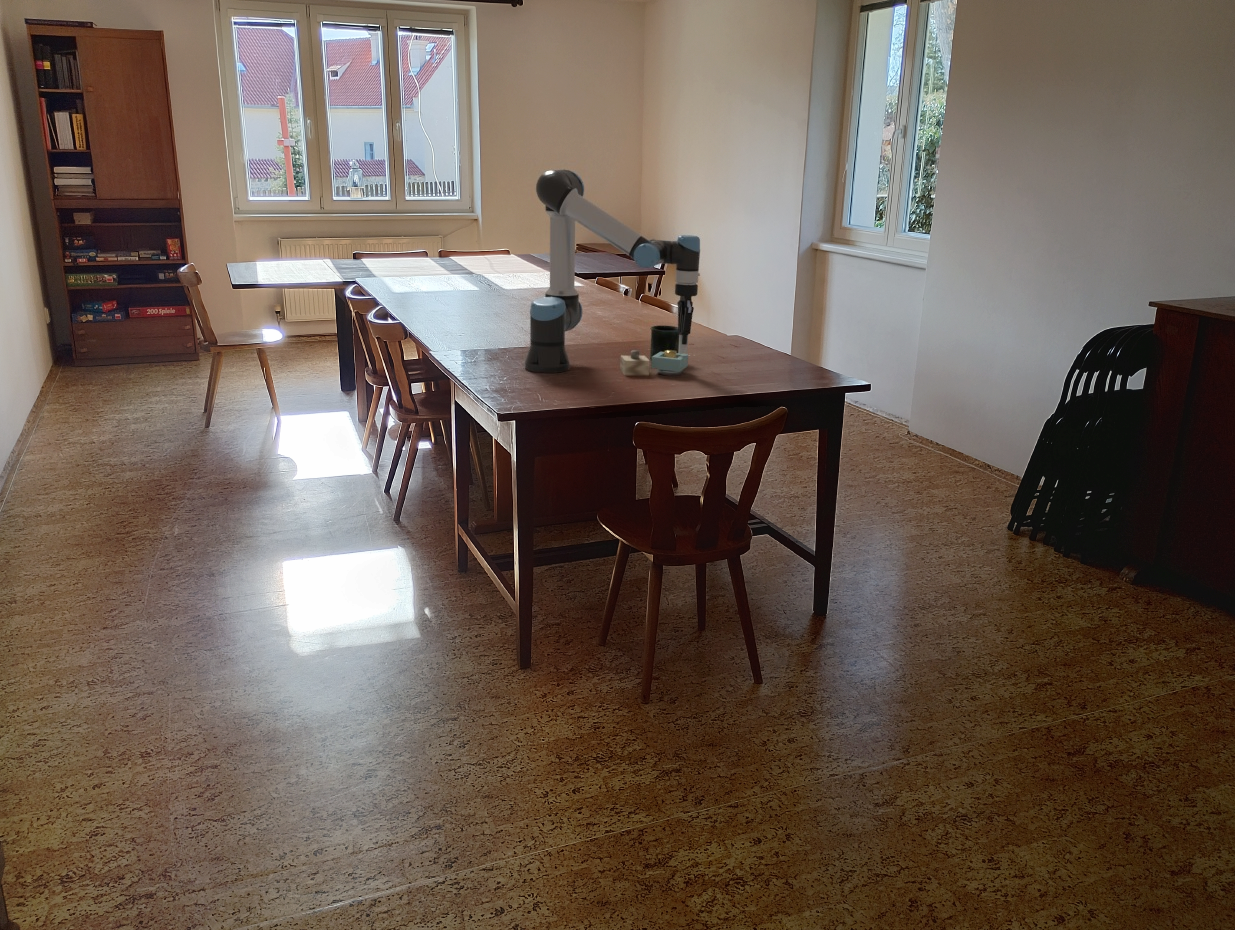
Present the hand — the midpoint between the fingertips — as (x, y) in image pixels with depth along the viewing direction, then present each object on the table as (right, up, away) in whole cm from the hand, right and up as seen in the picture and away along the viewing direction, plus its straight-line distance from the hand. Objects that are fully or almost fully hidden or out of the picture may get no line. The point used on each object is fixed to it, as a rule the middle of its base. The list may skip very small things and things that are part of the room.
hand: (682, 353), depth 320 cm
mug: (-6, 0, +21) cm, 22 cm away
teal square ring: (-4, -5, +1) cm, 6 cm away
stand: (-16, -6, 0) cm, 18 cm away
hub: (-4, -7, +1) cm, 8 cm away
